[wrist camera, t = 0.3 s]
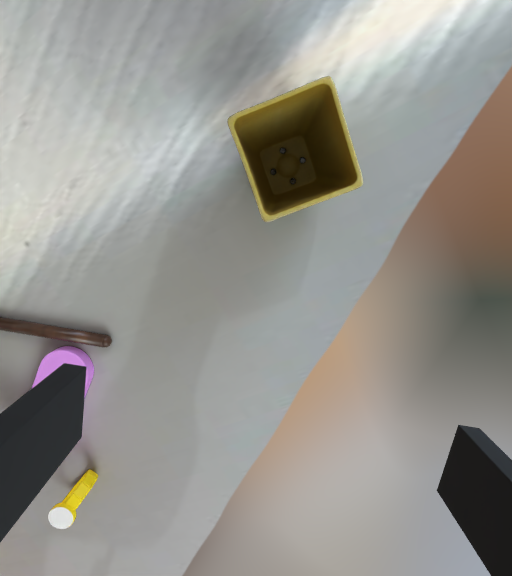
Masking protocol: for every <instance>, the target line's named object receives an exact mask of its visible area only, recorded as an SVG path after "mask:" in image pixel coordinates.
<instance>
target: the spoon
mask: <svg viewBox="0 0 512 576" xmlns="http://www.w3.org/2000/svg"><path fill="white" fill-rule="evenodd" d="M0 330H4V331H10V332H16V333H22V334H27V335H33V336H39V337H45V338H51V339H57V340H63V341H69V342H75V343H81V344H87V345H93V346H99V347H108V346H110V344H111V343H112V339H111V337H110V336H108V335H104V334H98V333H92V332H86V331H80V330H74V329H68V328H62V327H56V326H50V325H44V324H39V323H33V322H27V321H21V320H15V319H9V318H3V317H0Z"/></svg>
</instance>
